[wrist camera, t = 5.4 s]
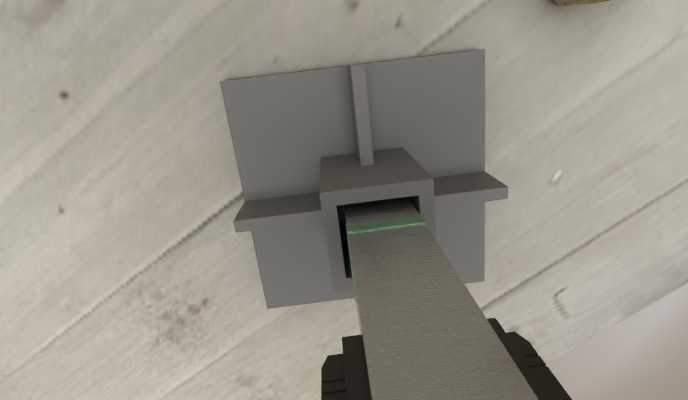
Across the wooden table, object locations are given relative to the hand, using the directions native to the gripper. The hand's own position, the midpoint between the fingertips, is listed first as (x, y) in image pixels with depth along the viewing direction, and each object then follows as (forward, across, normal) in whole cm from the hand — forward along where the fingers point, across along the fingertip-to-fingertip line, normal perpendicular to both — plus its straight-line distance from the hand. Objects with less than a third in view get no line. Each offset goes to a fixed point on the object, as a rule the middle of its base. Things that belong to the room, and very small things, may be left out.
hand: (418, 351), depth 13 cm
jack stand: (+19, 0, 0) cm, 19 cm away
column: (+11, 0, 0) cm, 11 cm away
